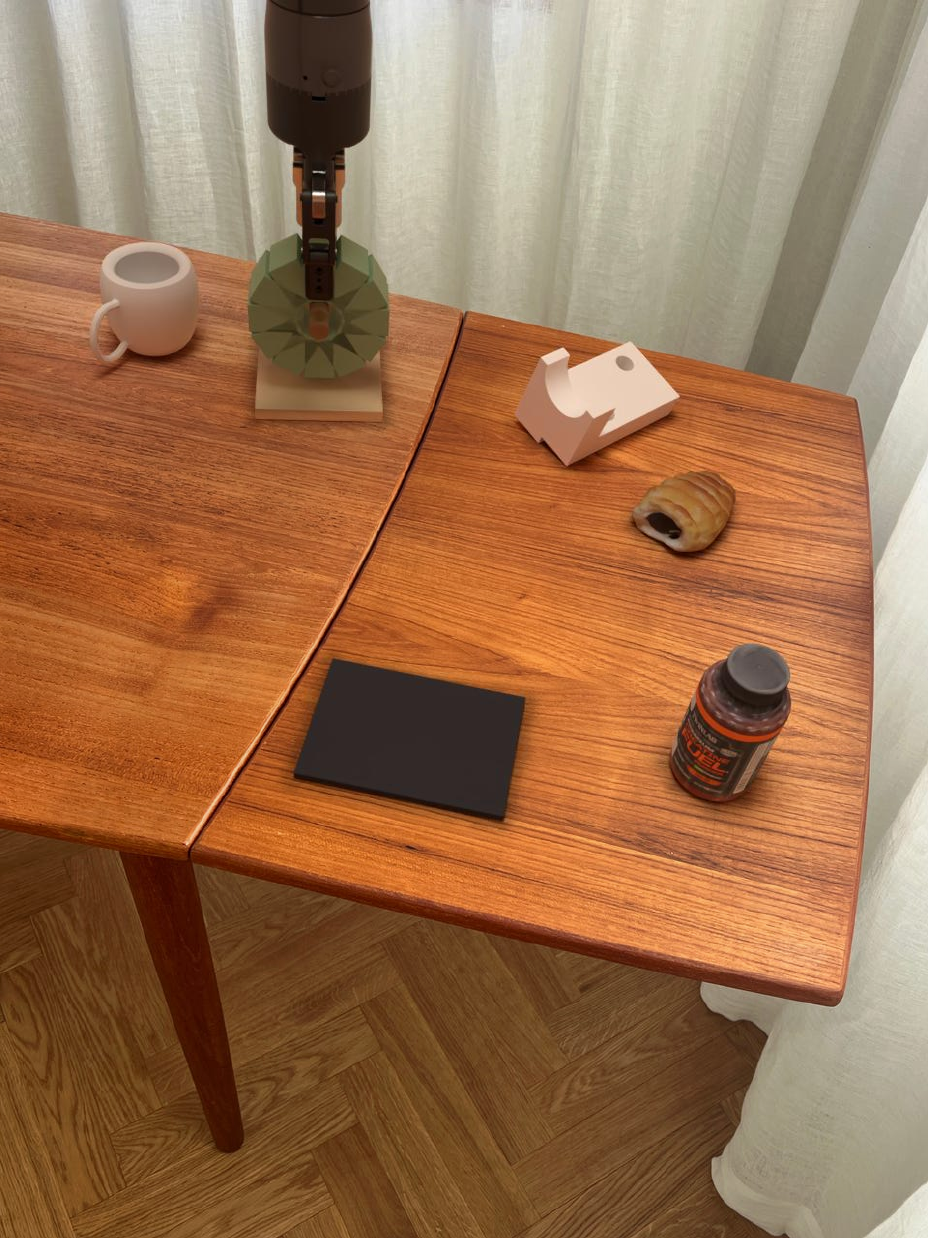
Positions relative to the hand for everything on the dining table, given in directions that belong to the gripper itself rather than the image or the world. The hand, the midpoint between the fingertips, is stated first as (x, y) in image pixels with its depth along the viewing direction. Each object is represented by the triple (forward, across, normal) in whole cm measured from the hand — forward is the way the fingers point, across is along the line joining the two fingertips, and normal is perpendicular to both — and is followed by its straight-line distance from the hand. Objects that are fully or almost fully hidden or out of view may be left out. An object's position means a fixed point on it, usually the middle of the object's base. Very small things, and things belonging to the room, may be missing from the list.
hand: (319, 271), depth 91 cm
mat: (+12, +38, +6) cm, 41 cm away
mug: (+12, -5, -16) cm, 21 cm away
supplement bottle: (+12, +41, +27) cm, 51 cm away
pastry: (+12, +17, +30) cm, 36 cm away
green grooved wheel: (+3, 0, 0) cm, 3 cm away
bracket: (+12, +4, +25) cm, 28 cm away
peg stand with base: (+12, -2, 0) cm, 12 cm away
